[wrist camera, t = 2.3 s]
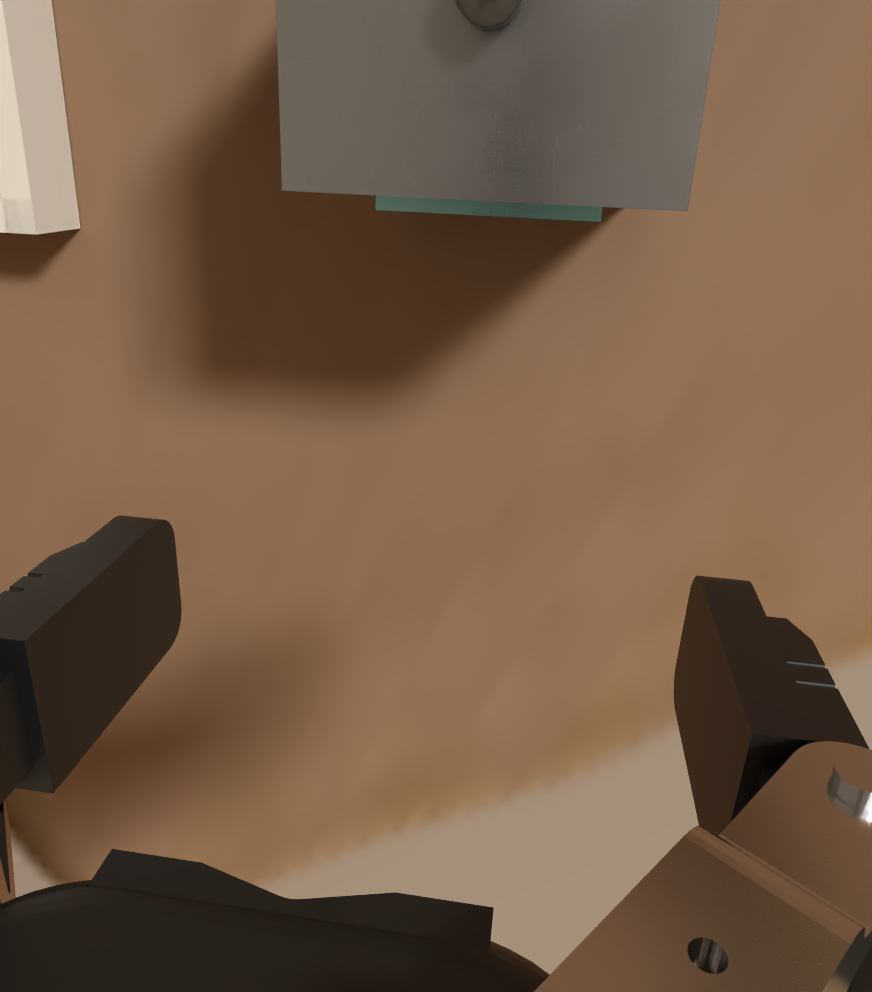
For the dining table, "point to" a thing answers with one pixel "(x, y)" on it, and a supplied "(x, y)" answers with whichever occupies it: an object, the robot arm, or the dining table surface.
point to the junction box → (495, 103)
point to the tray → (33, 124)
